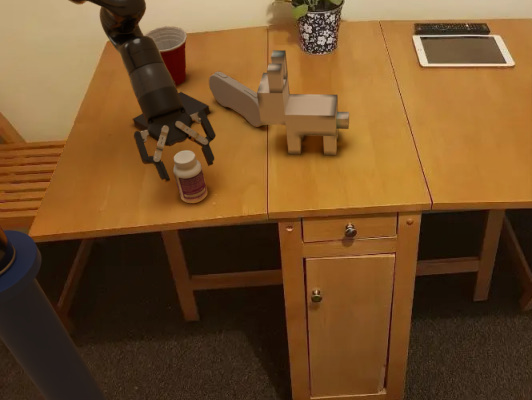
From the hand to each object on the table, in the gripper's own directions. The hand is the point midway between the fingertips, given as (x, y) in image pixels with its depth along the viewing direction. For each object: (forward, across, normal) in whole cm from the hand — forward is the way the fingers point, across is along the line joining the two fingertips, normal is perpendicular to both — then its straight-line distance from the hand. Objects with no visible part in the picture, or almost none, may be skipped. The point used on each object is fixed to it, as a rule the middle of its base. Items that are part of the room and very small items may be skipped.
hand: (189, 172), depth 109 cm
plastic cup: (-27, -11, -36) cm, 46 cm away
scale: (-16, -5, -24) cm, 29 cm away
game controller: (-11, -19, -20) cm, 30 cm away
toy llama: (+2, -27, -7) cm, 28 cm away
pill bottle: (+4, 0, -5) cm, 7 cm away
